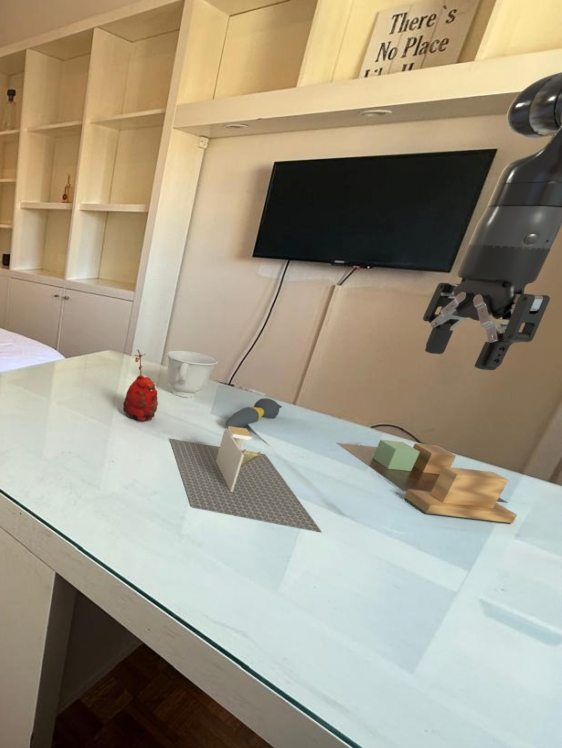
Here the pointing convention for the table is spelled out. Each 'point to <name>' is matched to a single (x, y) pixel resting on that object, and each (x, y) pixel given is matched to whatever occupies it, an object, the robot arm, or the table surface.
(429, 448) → the wooden cube
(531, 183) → the robot arm
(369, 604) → the table surface
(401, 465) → the sage cube
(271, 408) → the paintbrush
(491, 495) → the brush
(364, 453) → the brown flat mat
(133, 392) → the red clay folk toy
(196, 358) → the teacup
